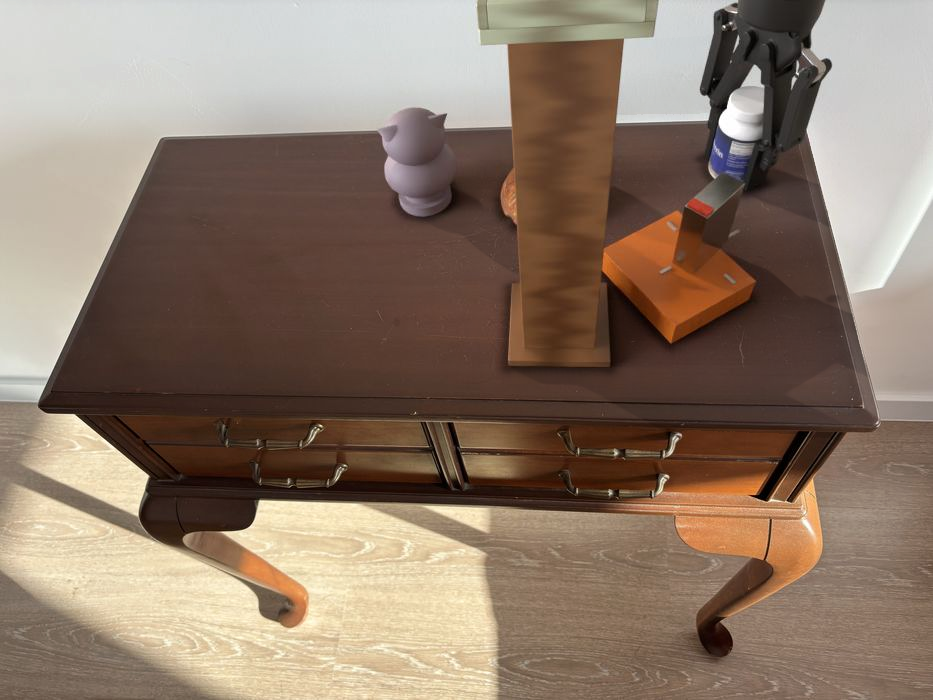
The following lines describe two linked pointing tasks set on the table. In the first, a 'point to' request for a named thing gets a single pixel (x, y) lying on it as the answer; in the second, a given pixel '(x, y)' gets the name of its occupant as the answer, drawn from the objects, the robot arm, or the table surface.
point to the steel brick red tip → (707, 222)
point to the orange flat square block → (674, 280)
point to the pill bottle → (738, 133)
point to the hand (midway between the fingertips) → (733, 168)
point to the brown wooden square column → (562, 165)
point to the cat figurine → (419, 160)
